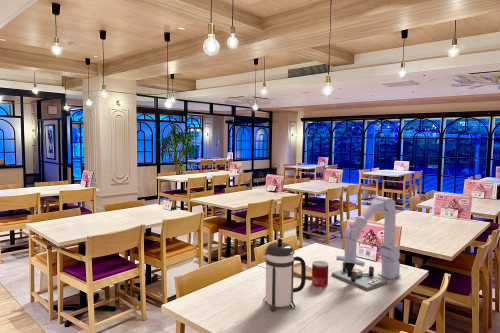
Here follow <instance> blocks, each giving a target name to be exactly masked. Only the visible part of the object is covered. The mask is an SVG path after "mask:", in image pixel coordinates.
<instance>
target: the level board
mask: <svg viewBox="0 0 500 333" xmlns="http://www.w3.org/2000/svg"><path fill="white" fill-rule="evenodd" d="M353 269H356V268H355V267H354V268H353ZM361 271H362V272H364V271H363V270H361ZM347 274H348V272H347V271H343V269H340V270H337V271H332V272H331V276H332V277H335V278H337V279H339V280H342V281H344V282H346V283H349V284H350V285H353V286H356V287H357V288H360V289H361V290H364V291H366V292H367V291H370V290H373V289H376V288H378V287H382V286H384V285H387V284H388V280H387V279H383V278H382V277H379V276H376V275H374V276H369V275H362V277H356V281H351V277H348V276H347Z"/></svg>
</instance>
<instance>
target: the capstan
mask: <svg viewBox="0 0 500 333" xmlns="http://www.w3.org/2000/svg"><path fill="white" fill-rule="evenodd" d="M345 263H346V262H344V261H342V270H343V271H347V269H346V267H345V265H344V264H345ZM362 271H363V270H361V269H358V268H355V269H353V270H352V271H351V281H356V277H362V275H369V276H375V274H374V273H375V267H374V266H371V265H370V266H369V267H368V272H367V271H366V272H365V271H363V272H362Z"/></svg>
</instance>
